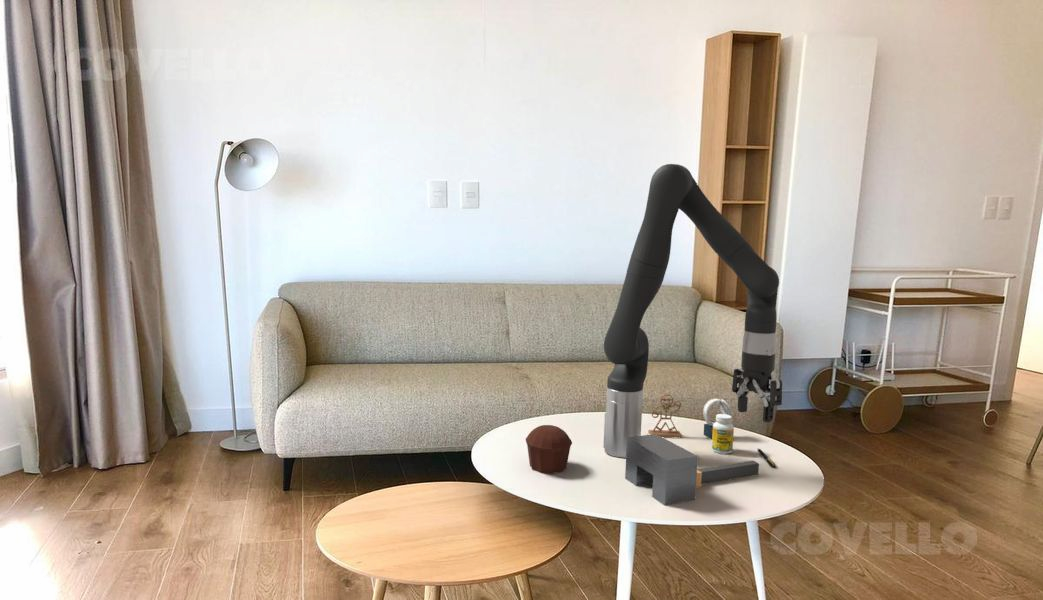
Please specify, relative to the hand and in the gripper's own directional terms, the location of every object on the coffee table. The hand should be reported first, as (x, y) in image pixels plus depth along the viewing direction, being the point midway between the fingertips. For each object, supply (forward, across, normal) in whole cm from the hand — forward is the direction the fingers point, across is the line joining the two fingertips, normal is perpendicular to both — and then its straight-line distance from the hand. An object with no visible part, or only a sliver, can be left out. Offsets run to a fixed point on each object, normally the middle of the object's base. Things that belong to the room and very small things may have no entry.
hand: (754, 416), depth 165 cm
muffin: (+14, -21, -45) cm, 51 cm away
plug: (+14, 0, -11) cm, 18 cm away
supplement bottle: (+15, -16, +4) cm, 22 cm away
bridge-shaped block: (+14, 0, -26) cm, 30 cm away
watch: (+14, -26, +10) cm, 32 cm away
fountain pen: (+15, -7, +11) cm, 20 cm away
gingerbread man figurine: (+14, -32, -3) cm, 35 cm away
